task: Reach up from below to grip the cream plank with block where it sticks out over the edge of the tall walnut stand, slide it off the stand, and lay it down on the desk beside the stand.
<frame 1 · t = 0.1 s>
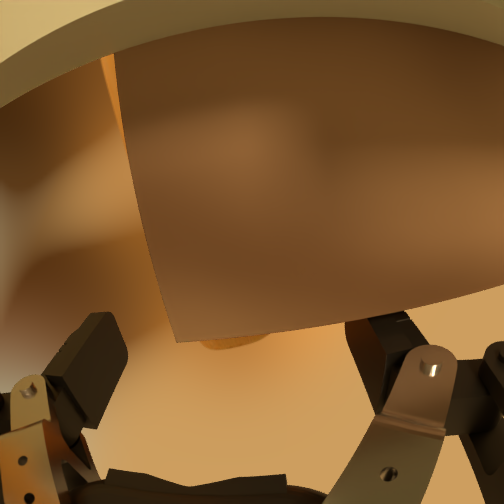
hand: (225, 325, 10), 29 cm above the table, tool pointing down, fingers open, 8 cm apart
walnut stand: (272, 100, 34), on the table
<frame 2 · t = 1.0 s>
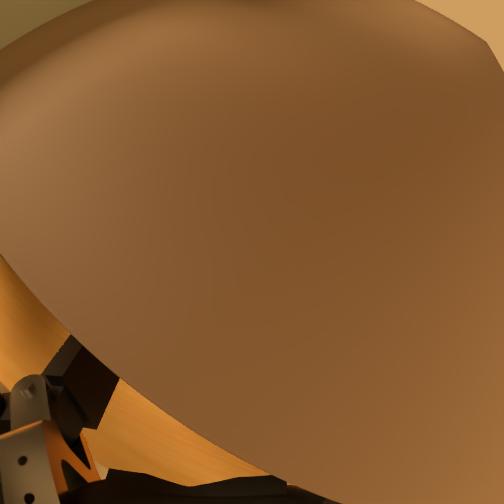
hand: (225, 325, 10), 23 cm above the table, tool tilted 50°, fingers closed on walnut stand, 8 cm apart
walnut stand: (194, 329, 33), on the table
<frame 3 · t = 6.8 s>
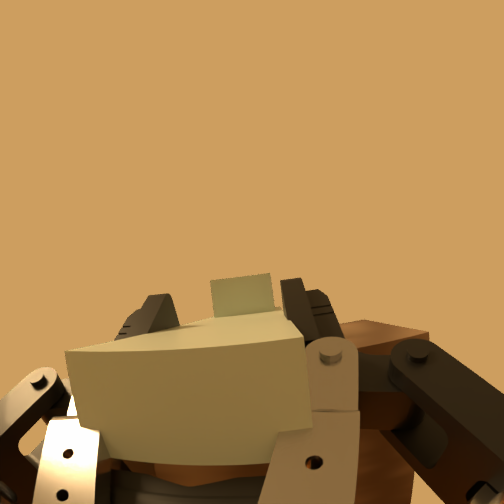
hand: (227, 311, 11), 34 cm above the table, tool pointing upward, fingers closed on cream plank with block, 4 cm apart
cream plank with block: (245, 358, 14), point 32 cm above the table, touching gripper, walnut stand
when the fingers open (11 cm above the table, at t = 16.7 s): cream plank with block drops 14 cm, on the table.
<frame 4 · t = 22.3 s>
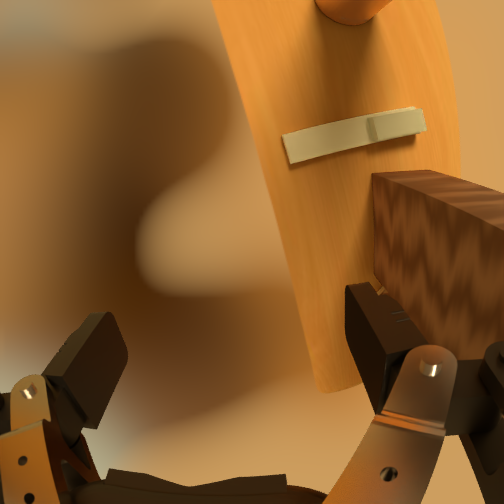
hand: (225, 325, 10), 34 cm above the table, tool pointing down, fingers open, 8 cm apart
cream plank with block: (352, 131, 40), on the table
walnut stand: (402, 222, 44), on the table
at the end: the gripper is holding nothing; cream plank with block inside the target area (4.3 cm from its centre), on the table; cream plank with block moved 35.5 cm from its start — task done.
